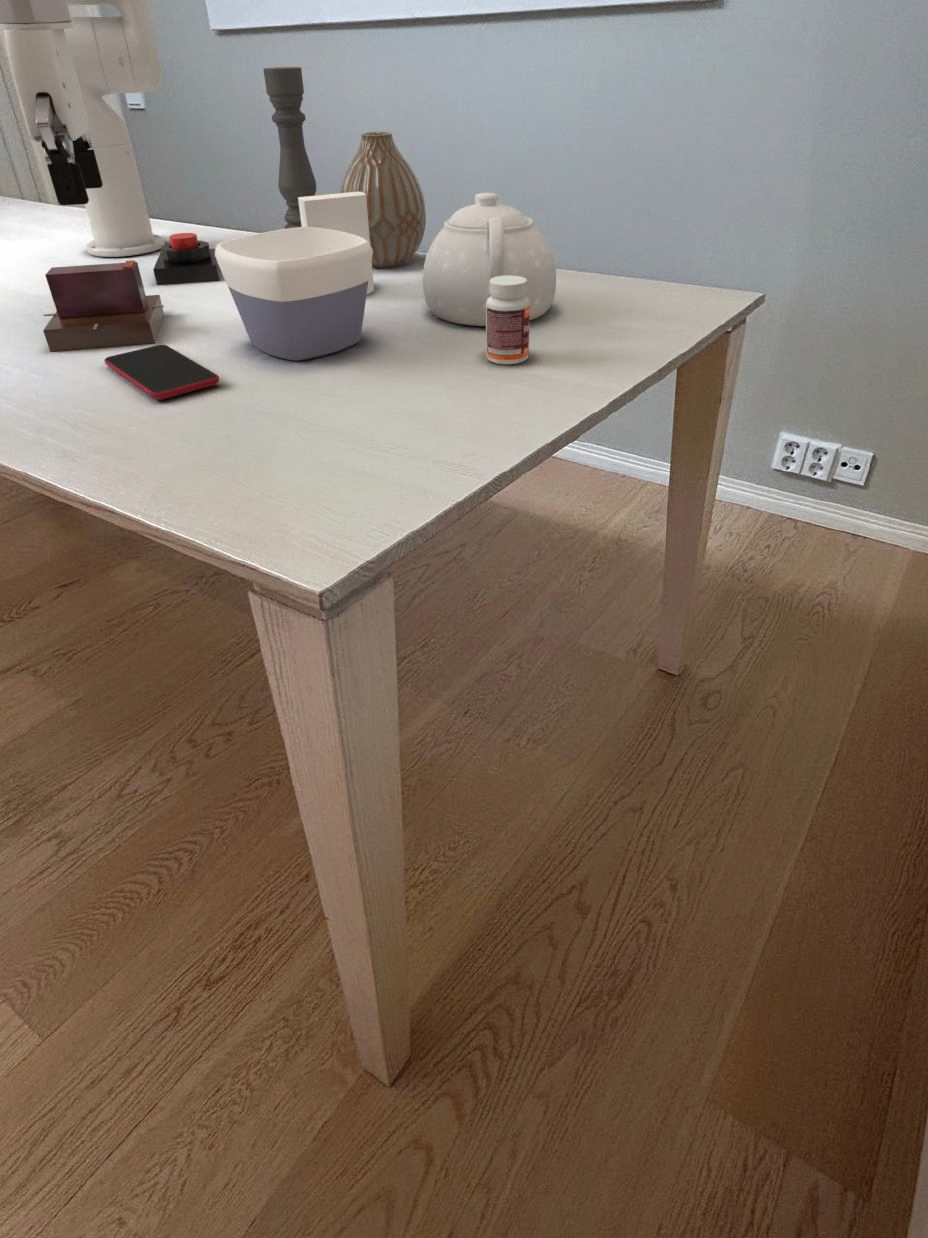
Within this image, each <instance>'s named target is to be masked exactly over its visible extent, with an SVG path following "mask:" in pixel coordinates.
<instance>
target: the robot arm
mask: <svg viewBox="0 0 928 1238" xmlns="http://www.w3.org/2000/svg"><path fill="white" fill-rule="evenodd" d="M149 3H150V2H149V0H0V31H3V37H4V42H5V48H6V51H7V57H8V60H9V65H10V69H11V73H12V78H13V82H14V85H15V90H16V93H17V97H18V100H19V104H20V108H21V112H22V116H23V119H24V123H25V127H26V130H27V134H28V136H29V138H30V139H31V140H32V141H33V142H35V143H40V144H41V147H42V148H43V154H44V159H45V162H46V166H47V170H48V173H49V176H50V180H51V183H52V187H53V190H54V193H55V196H56V200H57V202H58V204H59V205H60V206H75V205H77V206H79V205H84V208H85V212H86V215H87V218H88V223H89V226H90V229H91V232H92V237H93V239H92V240H91V241H89V242H88V243H86V244H85V245H86V246H85V248H86V251H87V253H88V254H90V255H92V256H95V257H101V258H105V257H107V258H116V257H117V258H119V257H129V256H131V257H132V256H138V255H144V254H149V253H152V252H155V251H158V250H161V247H162V245H165V244H166V242H165V239H164V237H163V236H162V235H159V234H154V232H153V228H152V224H151V220H150V216H149V212H148V207H147V203H146V199H145V195H144V190H143V187H142V182H141V178H140V174H139V169H138V165H137V159H136V156H135V151H134V148H133V143H132V140H131V139H132V138H131V135H130V132H129V129H128V126H127V124H126V123H125V120H123V118H122V117H121V116H120V115H119V114H118V113H117V112H116V110H114V109H113V108H112V107H111V106H110V105H109V104H108V103H107V102H106V101H105V100H104V98H103V96H107V95H108V96H109V95H114V94H117V95H118V94H119V95H120V94H138V93H147V92H148V93H149V92H153V91H155V90H157V89H159V88H160V87H161V85H162V82H163V66H162V65H163V64H162V59H161V54H160V49H159V44H158V40H157V35H156V31H155V26H154V20H153V17H152V11H151V8H150V7H151V6H150V4H149ZM69 6H111V7H114V8H115V9H116V10H117V11H118V12H119V13H120V16H71V11H70V8H69Z"/></svg>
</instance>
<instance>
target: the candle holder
mask: <svg viewBox="0 0 928 1238" xmlns="http://www.w3.org/2000/svg"><path fill="white" fill-rule="evenodd" d="M262 69H263V76H264V82H265V91H266V95H268V97H269V99H268V100H269V102H270V103H271V104H272V107H273V108H274V110H275V111H274V112H273V114H272V115H271V121H272V122H273V123H274V124H275V126H276V127H277V133H278V140H279V141H278V142H279V149H280V150H279V152H280V153H279V168H278V169H279V170H278V183H277V184H278V190H279V193H280V195H281V197H282V199H284V200H285V205H286V206H287V207H288V208H287V210H286V213H285V214H284V221H285V222H286V225H284V226H283V229H288V228H297V227H302V225H301V217H300V210H299V202H298V197H307V196H316V193H317V188H318V187H317V181H316V178H315V175H314V171H313V168H312V165H311V163H310V159H309V156H308V153H307V149H306V147H305V146H306V145H305V138H304V132H303V131H304V130H303V125H304V122H305V121H306V120H307V119H306V115H305V113H304V112H303V111H301V107H302V103H303V100H304V97H303V95H304V94H305V90H304V81H303V71H302V67H301V66H280V67H279V66H276V67H275V66H274V67H264V68H262Z"/></svg>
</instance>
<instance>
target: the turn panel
mask: <svg viewBox="0 0 928 1238" xmlns="http://www.w3.org/2000/svg"><path fill="white" fill-rule="evenodd" d="M160 295H161V294H150V295H149V294H148V295H146V299H147V303H148V304H147V307H146V309H145V312H135V313H122V314H109V315H95V316H82V317H69V318H59V316H58V313H57V310H56V311H55V313H43V317H51V319H50V320H49V321H48V322H47V324H46V325H45V327H43V331H42V332H43V335H44V337H45V340H46V343H47V346H48V347H47V348H48V350H49V352H60V351H72V350H83V349H97V348H109V347H121V346H134V345H135V346H136V345H145V344H155V342H156V339H157V337H158V333H159V331H160V328H161V324H162V321H163V319H164V315H165V312H164V304H163V303H162V300H161V296H160Z"/></svg>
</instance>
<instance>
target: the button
mask: <svg viewBox="0 0 928 1238" xmlns="http://www.w3.org/2000/svg"><path fill="white" fill-rule="evenodd" d="M168 239H169V243H170V244H171V248H172V249H188V248H194V247H197V246H199V244H198V240H199V239H198V235H197V233H195V232H179V233H174V234H173V233H172V234H170V235H169V236H168Z"/></svg>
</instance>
